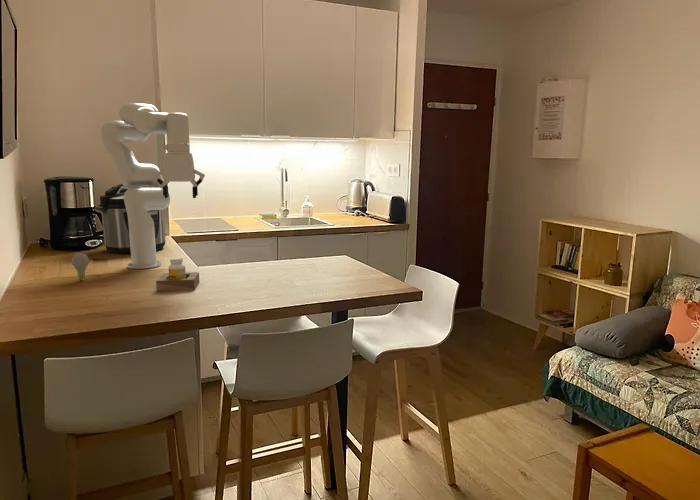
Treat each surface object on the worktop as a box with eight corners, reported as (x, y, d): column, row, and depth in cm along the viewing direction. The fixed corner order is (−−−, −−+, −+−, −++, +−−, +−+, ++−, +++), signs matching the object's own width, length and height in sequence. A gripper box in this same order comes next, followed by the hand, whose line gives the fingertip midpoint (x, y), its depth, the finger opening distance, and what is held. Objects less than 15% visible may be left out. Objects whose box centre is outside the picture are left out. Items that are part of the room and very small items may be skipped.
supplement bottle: (166, 286, 187) (164, 258, 185) (181, 284, 191) (179, 256, 189) (175, 289, 183) (173, 260, 182) (189, 286, 187) (187, 258, 185)
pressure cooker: (94, 256, 245) (88, 184, 240) (108, 246, 273) (102, 181, 267) (165, 253, 251) (160, 183, 246) (171, 244, 279) (167, 180, 273)
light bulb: (83, 282, 194) (81, 254, 192) (70, 282, 195) (67, 254, 193) (93, 279, 199) (91, 252, 197) (80, 278, 200) (77, 251, 199)
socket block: (164, 283, 192) (163, 273, 191) (199, 282, 194) (198, 272, 193) (156, 291, 180) (156, 281, 180) (194, 290, 182) (193, 279, 181)
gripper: (150, 148, 189) (153, 198, 193) (202, 149, 191) (203, 198, 195) (155, 148, 197) (158, 196, 200) (205, 149, 199) (206, 196, 202)
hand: (180, 197), depth 197 cm, fingers open, 9 cm apart
